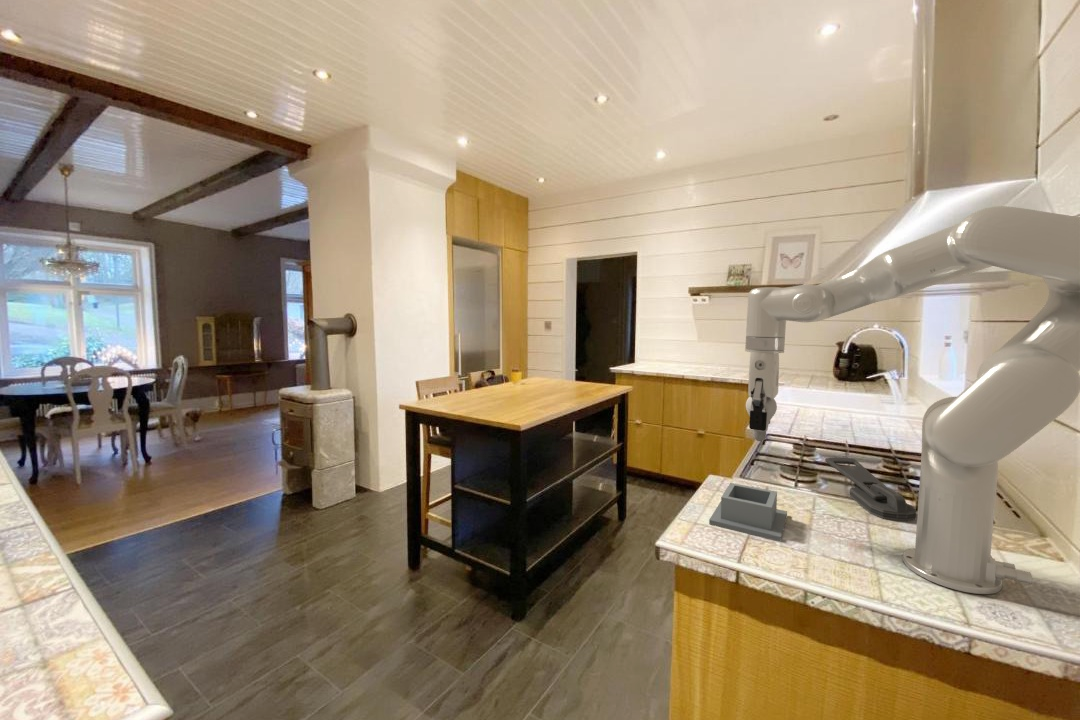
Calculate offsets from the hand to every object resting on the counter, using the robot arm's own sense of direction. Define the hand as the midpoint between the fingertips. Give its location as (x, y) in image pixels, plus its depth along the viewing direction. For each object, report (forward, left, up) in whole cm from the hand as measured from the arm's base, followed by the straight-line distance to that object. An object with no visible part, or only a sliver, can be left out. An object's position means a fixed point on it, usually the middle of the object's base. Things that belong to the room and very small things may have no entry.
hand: (759, 425), depth 94 cm
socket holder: (+2, 0, -22) cm, 22 cm away
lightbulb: (0, 0, -4) cm, 4 cm away
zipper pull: (-21, -28, -22) cm, 42 cm away
